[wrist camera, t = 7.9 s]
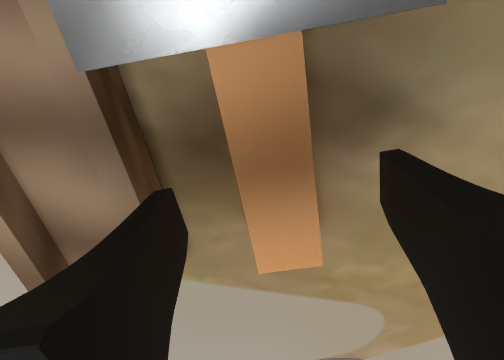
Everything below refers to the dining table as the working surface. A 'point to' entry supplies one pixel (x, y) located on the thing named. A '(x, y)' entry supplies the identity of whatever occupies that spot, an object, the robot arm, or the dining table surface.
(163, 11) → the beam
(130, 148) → the tray
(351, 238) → the dining table surface
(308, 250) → the shaft
